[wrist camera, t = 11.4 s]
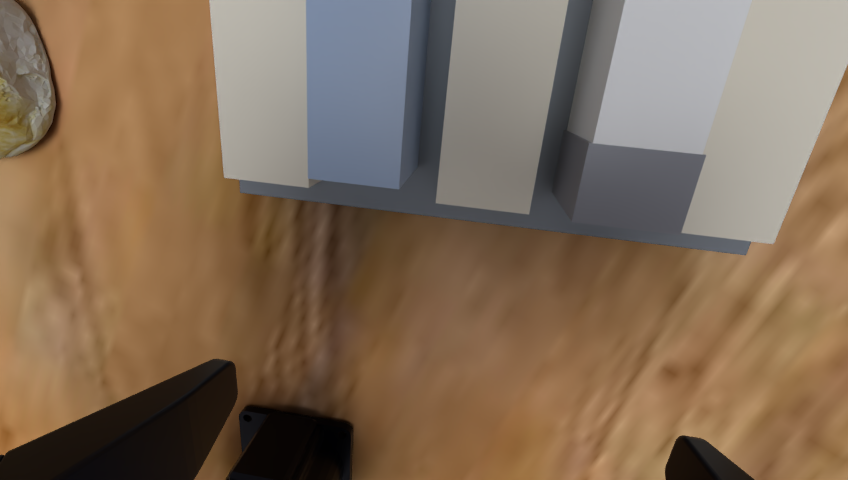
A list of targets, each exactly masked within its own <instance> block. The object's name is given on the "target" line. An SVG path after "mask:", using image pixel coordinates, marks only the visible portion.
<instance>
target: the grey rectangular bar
mask: <svg viewBox="0 0 848 480" xmlns="http://www.w3.org/2000/svg"><path fill="white" fill-rule="evenodd" d="M430 10H431V0H306V52H307V143H308V179H316V180H324V181H333V182H341V183H349V184H358V185H366V186H375V187H383V188H391V189H400V188H401V186H402V185H403V184H404V183H405V182H406V180H407V179H408V178H409V177H410V176H411V174H412V173H413V172H414V171H415V170H416V168H417V167H418V156H419V143H420V131H421V119H422V107H423V95H424V83H425V71H426V58H427V46H428V34H429V22H430Z"/></svg>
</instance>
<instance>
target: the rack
mask: <svg viewBox="0 0 848 480" xmlns="http://www.w3.org/2000/svg"><path fill="white" fill-rule="evenodd" d="M209 2H210V14H211V26H212V38H213V50H214V62H215V74H216V86H217V98H218V110H219V123H220V135H221V147H222V159H223V171H224V178H231V179H239V181H240V193H248V194H256V195H264V196H272V197H280V198H288V199H296V200H304V201H312V202H320V203H328V204H336V205H344V206H353V207H361V208H369V209H377V210H385V211H393V212H401V213H409V214H417V215H425V216H433V217H441V218H449V219H457V220H465V221H474V222H482V223H490V224H498V225H506V226H514V227H522V228H530V229H538V230H546V231H554V232H562V233H570V234H578V235H586V236H595V237H603V238H611V239H619V240H627V241H635V242H643V243H651V244H659V245H667V246H675V247H683V248H691V249H699V250H707V251H716V252H724V253H732V254H740V255H746V254H747V251H748V249H749V246H750V243H751V241H752V242H760V243H768V244H774V242H775V239H776V237H777V234H778V232H779V230H780V227H781V225H782V222H783V220H784V217H785V215H786V213H787V210H788V208H789V205H790V203H791V200H792V198H793V196H794V193H795V191H796V188H797V186H798V183H799V181H800V179H801V176H802V174H803V171H804V169H805V166H806V164H807V162H808V159H809V157H810V154H811V152H812V149H813V147H814V145H815V142H816V140H817V137H818V135H819V132H820V130H821V128H822V125H823V123H824V120H825V118H826V115H827V113H828V111H829V108H830V106H831V103H832V101H833V98H834V96H835V94H836V91H837V89H838V86H839V84H840V81H841V79H842V77H843V74H844V72H845V69H846V67H847V64H848V0H752V2H751V5H750V8H749V12H748V15H747V18H746V21H745V24H744V27H743V30H742V33H741V37H740V40H739V43H738V46H737V49H736V52H735V55H734V58H733V61H732V65H731V68H730V71H729V74H728V77H727V80H726V83H725V86H724V90H723V93H722V96H721V99H720V102H719V105H718V108H717V111H716V114H715V118H714V121H713V124H712V127H711V130H710V133H709V136H708V139H707V142H706V146H705V149H704V152H703V154H705V155H706V158H705V161H704V164H703V167H702V170H701V173H700V176H699V179H698V182H697V185H696V188H695V192H694V195H693V198H692V201H691V204H690V207H689V210H688V213H687V216H686V219H685V222H684V226H683V229H682V232H681V235H674V234H666V233H658V232H650V231H641V230H633V229H625V228H617V227H608V226H600V225H592V224H584V223H575V222H571V220H570V219H569V217H568V216H567V214H566V213H565V211H564V210H563V208H562V207H561V205H560V204H559V202H558V201H557V199H556V198H555V196H554V195H553V193H552V188H553V183H554V178H555V173H556V168H557V163H558V158H559V153H560V148H561V143H562V138H563V133H564V130H567V127H568V122H569V117H570V112H571V107H572V102H573V98H574V93H575V88H576V83H577V78H578V73H579V68H580V63H581V58H582V53H583V48H584V43H585V38H586V33H587V28H588V24H589V19H590V14H591V9H592V4H593V0H431V10H430V22H429V34H428V46H427V58H426V71H425V83H424V95H423V107H422V119H421V131H420V143H419V156H418V167H417V168H416V170H415V171H414V172H413V173H412V174H411V176H410V177H409V178H408V179H407V180H406V182H405V183H404V184H403V185H402V186H401V188H400V189H391V188H383V187H375V186H366V185H358V184H349V183H341V182H333V181H324V180H316V179H308V143H307V52H306V0H209Z"/></svg>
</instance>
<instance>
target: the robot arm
mask: <svg viewBox="0 0 848 480" xmlns="http://www.w3.org/2000/svg"><path fill="white" fill-rule="evenodd" d="M237 395H238V389H237V378H236V368H235V364H234V363H233V362H231V361H227V360H221V359H212V360H210V361H208V362H206V363H203V364H201V365H199V366H197V367H194V368H192V369H190V370H188V371H186V372H183V373H181V374H179V375H177V376H174V377H172V378H170V379H168V380H166V381H163V382H161V383H159V384H157V385H155V386H152V387H150V388H148V389H146V390H143V391H141V392H139V393H137V394H135V395H132V396H130V397H128V398H126V399H123V400H121V401H119V402H117V403H115V404H112V405H110V406H108V407H106V408H104V409H101V410H99V411H97V412H95V413H92V414H90V415H88V416H86V417H84V418H81V419H79V420H77V421H75V422H72V423H70V424H68V425H66V426H64V427H61V428H59V429H57V430H55V431H52V432H50V433H48V434H46V435H44V436H41V437H39V438H37V439H35V440H32V441H30V442H28V443H26V444H24V445H21V446H19V447H17V448H15V449H12V450H10V451H8V452H7V453H6V454H5V456H4V455H0V480H194V479H195V477H196V475H197V474H198V472H199V470H200V469H201V467H202V465H203V463H204V461H205V460H206V458H207V456H208V454H209V452H210V450H211V448H212V446H213V445H214V443H215V441H216V439H217V437H218V435H219V433H220V431H221V429H222V428H223V426H224V424H225V422H226V420H227V418H228V416H229V414H230V413H231V411H232V409H233V407H234V405H235V403H236V400H237ZM239 421H240V433H241V444H242V454H241V456H240V457H239V459H238V460H237V462H236V463H235V465H234V466H233V468H232V469H231V471H230V473H229V475H228V476H227V478H226V480H351V477H352V449H353V428H352V427H351V425H349V424H348V423H344V422H339V421H333V420H327V419H322V418H316V417H310V416H304V415H299V414H293V413H287V412H281V411H276V410H270V409H264V408H259V407H253V406H247V407H245V408H244V409H243V410H242V412H241V413H240V414H239ZM341 431H343V432H345V433H343V432H341ZM665 477H666V480H754V479H753V478H752V477H751V476H749V475H748V474H747V473H746V472H744V471H743V470H742V469H741V468H739V467H738V466H737V465H736V464H734V463H733V462H732V461H731V460H729V459H728V458H727V457H726V456H724V455H723V454H722V453H721V452H719V451H718V450H717V449H716V448H714V447H713V446H712V445H711V444H709V443H708V442H707V441H706V440H704V439H701V438H696V437H690V436H679V437H678V438H677V439H676V441H675V444H674V446H673V449H672V451H671V454H670V457H669V459H668V462H667V464H666V468H665Z"/></svg>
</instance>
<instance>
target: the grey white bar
mask: <svg viewBox="0 0 848 480" xmlns="http://www.w3.org/2000/svg"><path fill="white" fill-rule="evenodd" d="M751 2H752V0H593V4H592V9H591V14H590V19H589V24H588V28H587V33H586V38H585V43H584V48H583V53H582V58H581V63H580V68H579V73H578V78H577V83H576V88H575V93H574V98H573V102H572V107H571V112H570V117H569V122H568V127H567V130H564V133H563V138H562V143H561V148H560V153H559V158H558V163H557V168H556V173H555V178H554V183H553V188H552V193H553V195H554V196H555V198H556V199H557V201H558V202H559V204H560V205H561V207H562V208H563V210H564V211H565V213H566V214H567V216H568V217H569V219H570V220H571V222H575V223H584V224H592V225H600V226H608V227H617V228H625V229H633V230H641V231H650V232H658V233H666V234H674V235H681V232H682V229H683V226H684V222H685V219H686V216H687V213H688V210H689V207H690V204H691V201H692V198H693V195H694V192H695V188H696V185H697V182H698V179H699V176H700V173H701V170H702V167H703V164H704V161H705V158H706V155H705V154H703V152H704V149H705V146H706V142H707V139H708V136H709V133H710V130H711V127H712V124H713V121H714V118H715V114H716V111H717V108H718V105H719V102H720V99H721V96H722V93H723V90H724V86H725V83H726V80H727V77H728V74H729V71H730V68H731V65H732V61H733V58H734V55H735V52H736V49H737V46H738V43H739V40H740V37H741V33H742V30H743V27H744V24H745V21H746V18H747V15H748V12H749V8H750V5H751Z"/></svg>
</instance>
